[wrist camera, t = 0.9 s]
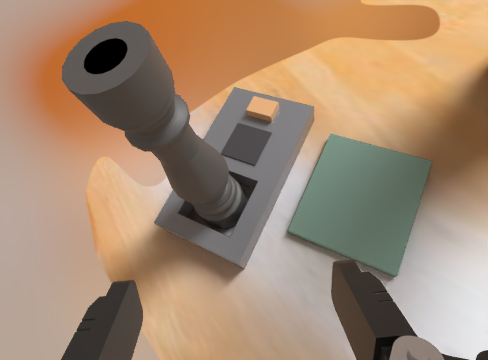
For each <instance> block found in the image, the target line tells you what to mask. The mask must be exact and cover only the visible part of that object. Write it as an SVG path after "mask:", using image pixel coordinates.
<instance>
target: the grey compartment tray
mask: <svg viewBox="0 0 488 360" xmlns="http://www.w3.org/2000/svg"><path fill="white" fill-rule="evenodd" d="M313 122H314V106H310V105H306V104H302V103H297V102H293V101H289V100H285V99H281V98H277V97H273V96H269V95H264V94H260V93H256V92H252V91H248V90H244V89H240V88H236V87H234V88H233V90H232V92H231V93H230V95H229V97H228V99H227V100H226V102H225V104H224V105H223V107H222V109H221V110H220V112H219V114H218V115H217V117H216V119H215V120H214V122H213V124H212V126H211V127H210V129H209V131H208V132H207V134H206V136H205V137H204V139H203V140H204V141H205V142H206V143H208V144H209V145H210V146H212V147H213V148H214V149H216V150H217V151H218V152H219V153H220V154H221V155H222V156H223V157H224V158H225V160H226V163H227V166H228V169H229V174H230V175H231V176H232V177H233V178H234V179H235V180H236V181H237V182H240V183H243V184H245V185H248V186H251V187H253V188H255V189H254V191H253V193H252V195H251V197H250V199H249V201H248V203H247V205H246V207H245V209H244V211H243V213H242V215H241V217H240V219H239V221H238V223H237V225H236V227H235V229H234V230H233V232H232V234H231V236H230V237H228V236H226V235H224V234H221V233H219V232H217V231H215V230H213V229H210V228H208V227H206V226H204V225H202V224H200V223H197V222H195V221H193V220H191V219H189V216H190V214H191V213H192V211H193V209H194V206H193V205H192V203H189V202H187V201H185V200H183V199H181V198H180V197H179V196H178V195H177V194H176V192H175V191H174V190H173V191H172V193H171V195H170V196H169V198H168V200H167V201H166V203H165V205H164V207H163V208H162V210H161V212H160V213H159V215H158V217H157V218H156V220H155V222H154V223H155V224H156V225H158V226H160V227H161V228H163V229H164V230H166V231H168V232H170V233H172V234H174V235H176V236H178V237H180V238H183V239H185V240H187V241H189V242H191V243H193V244H195V245H197V246H199V247H201V248H203V249H205V250H207V251H209V252H211V253H213V254H215V255H217V256H219V257H221V258H223V259H225V260H227V261H229V262H231V263H233V264H235V265H237V266H239V267H241V268H243V269H245V267H246V265H247V262H248V260H249V258H250V256H251V254H252V252H253V250H254V247H255V245H256V243H257V241H258V239H259V237H260V235H261V233H262V230H263V228H264V226H265V224H266V222H267V220H268V218H269V216H270V213H271V211H272V209H273V207H274V205H275V203H276V201H277V198H278V196H279V194H280V192H281V190H282V188H283V186H284V184H285V181H286V179H287V177H288V175H289V173H290V171H291V169H292V167H293V164H294V162H295V160H296V158H297V156H298V154H299V152H300V149H301V147H302V145H303V143H304V141H305V139H306V137H307V135H308V132H309V130H310V128H311V126H312V124H313Z"/></svg>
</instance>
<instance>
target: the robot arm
mask: <svg viewBox="0 0 488 360" xmlns="http://www.w3.org/2000/svg"><path fill="white" fill-rule="evenodd" d="M331 293H332V300H333V304H334V307H335V310H336V312H337V314H338V317H339V319H340V321H341V324H342V326H343V328H344V331H345V333H346V336H347V338H348V340H349V343H350V345H351V347H352V350H353V352H354V354H355V357H356V359H357V360H468V359H463V358H457V357H452V356H448V355H444V354H441V353H440V352H439V350H438V349H437V348H436V347H435V346H433V345H432V344H431V343H429V342H428V341H426V340H424V339H422V338H419V337H418V336H417V335H416V334H415V332H414V331H413V329H412V328H411V326H410V325H409V323H408V322H407V320H406V319H405V317H404V316H403V314H402V313H401V311H400V310H399V308H398V307H397V305H396V304H395V302H393V299H392V298H391V296H390V295H389V293H387V290H386V289H385V287H384V286H383V284H382V283H381V281H380V280H379V279H377V278H376V277H375V276H373V275H372V274H371V273H370V272H361V271H360V270H359V268H358V266H357V265H356V263H355V262H354V261H353V260H346V261H335V262H334V263H333V271H332V289H331ZM142 321H143V310H142V305H141V302H140V298H139V294H138V291H137V287H136V283H135V281H134V280H128V281H117V282H113V283H112V285H111V287H110V289H109V291H108V293H107V295H106V296H103V297H99V298H98V299H97V300H96V301H95V302H94V303H93V304H92V305H91V306H90V307H89V308H88V310H87V312H86V313H85V315H84V317H83V319H82V322H81V323H80V325H79V327H78V328H77V332H75V334H74V336H73V338H72V340H71V342H70V343H69V346H68V347H67V349H66V351H65V353H64V355H63V357H62V359H61V360H131V359H132V356H133V353H134V349H135V346H136V343H137V339H138V336H139V332H140V330H141V326H142ZM476 360H488V350H487V351H482V352H480V353H479V354H478V355H477V357H476Z"/></svg>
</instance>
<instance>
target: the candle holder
mask: <svg viewBox="0 0 488 360" xmlns="http://www.w3.org/2000/svg"><path fill="white" fill-rule="evenodd" d="M62 80H63V82H64V83H65V85H66V87H67V88H68V89H69V91H71V92H72V93H73V94H74V95H75V96H76V97H77V98H78V99H79V100H80V101H81V102H82V103H83V104H84V105H85V106H86V107H88V108H89V109H90V110H91V111H92V112H93V113H94V114H95V115H96V116H97V117H98V118H99V119H100V120H102V122H104V123H106V124H108V125H110V126H113V127H115V128H119V129H121V130H123V131H125V136H126V138H127V139H128V140H129V142H130V143H131V144H132V145H133V146H134V147H136V148H138V149H141V150H143V151H151V152H152V153H153V154H154V155H155V156H156V157H157V158H158V159H159V160H160V162H161V164H162V166H163V168H164V171H165V173H166V175H167V177H168V180H169V182H170V184H171V187H172V188H173V190H174V191H175V192H176V194H177V195H178V196H179V197H180V198H181V199H183V200H185V201H187V202H189V203H192V205H193V206H194V209H195V211H196V212H197V213H198V215H199V216H200V217H201V218H202V219H203V220H204V221H205V222H207V223H208V224H209V225H211V226H213V227H215V228H217V229H227V228H230V227H233V226H235V225H236V224H237V223H238V221H239V219H240V217H241V215H242V213H243V211H244V209H245V207H246V205H247V203H248V202H247V199H246V195H245V193H244V191H243V190H242V188H241V186H240V184H239V183H238V182H237V181H236V180H235V179H234V178H233V177H232V176H231V175H230V174H229V169H228V166H227V163H226V160H225V158H224V157H223V156H222V155H221V154H220V153H219V152H218V151H217V150H216V149H214V148H213V147H212V146H210V145H209V144H208V143H206V142H205V141H204V140H203V139H201V138H200V137H199V136H197V135H196V134H195V132H194V131H193V129H192V128H191V126H190V125H189V119H190V114H189V110H188V106H187V104H186V102H185V101H184V100H183V99H182V98H181V97H180V96H179V95H177V94H175V89H174V80H173V76H172V72H171V70H170V68H169V67H168V65H167V63H166V61H165V60H164V58H163V56H162V54H161V53H160V51H159V49H158V47H157V46H156V44H155V42H154V41H153V39H152V37H151V35H150V34H149V32H148V31H147V30H146V29H145V28H144V27H143V26H141V25H140V24H136V23H132V22H128V21H124V22H117V23H111V24H108V25H106V26H103V27H101V28H98V29H96V30H94V31H93V32H92V33H90V34H89V35H87V36H86V37H84V38H83V39H81V40H80V41H79V42H78V44H77V45H76V46H75V47H74V48H73V49H72V50H71V51H70V53H69V54H68V56H67V58H66V60H65V62H64V65H63V67H62Z"/></svg>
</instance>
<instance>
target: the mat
mask: <svg viewBox="0 0 488 360" xmlns="http://www.w3.org/2000/svg"><path fill="white" fill-rule="evenodd" d="M431 164H432V161H430V160H426V159H422V158H419V157H415V156H411V155H407V154H404V153H400V152H396V151H393V150H389V149H385V148H382V147H378V146H374V145H371V144H367V143H363V142H360V141H356V140H352V139H349V138H345V137H341V136H337V135H334V134H330V136H329V138H328V140H327V143H326V145H325V147H324V149H323V152H322V154H321V156H320V159H319V161H318V163H317V165H316V168H315V170H314V172H313V174H312V177H311V179H310V181H309V183H308V186H307V188H306V190H305V192H304V195H303V197H302V199H301V202H300V204H299V206H298V208H297V211H296V213H295V215H294V217H293V220H292V222H291V224H290V226H289V229H288V233H290V234H293V235H295V236H298V237H300V238H302V239H305V240H307V241H310V242H312V243H314V244H317V245H319V246H322V247H324V248H326V249H329V250H331V251H334V252H336V253H338V254H341V255H343V256H346V257H348V258H350V259H353V260H355V261H358V262H360V263H362V264H365V265H367V266H370V267H372V268H374V269H377V270H379V271H382V272H384V273H386V274H389V275H391V276H394V277H396V276H397V274H398V271H399V268H400V264H401V261H402V258H403V255H404V251H405V248H406V245H407V242H408V238H409V235H410V232H411V229H412V225H413V222H414V219H415V216H416V212H417V209H418V206H419V203H420V199H421V196H422V193H423V190H424V186H425V183H426V180H427V177H428V173H429V170H430V167H431Z"/></svg>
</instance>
